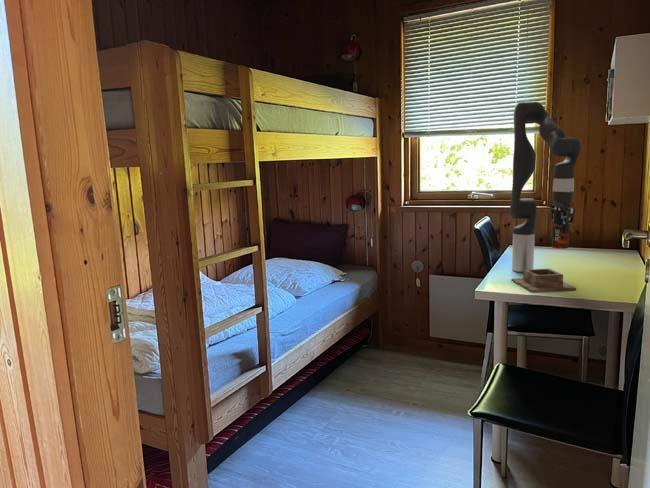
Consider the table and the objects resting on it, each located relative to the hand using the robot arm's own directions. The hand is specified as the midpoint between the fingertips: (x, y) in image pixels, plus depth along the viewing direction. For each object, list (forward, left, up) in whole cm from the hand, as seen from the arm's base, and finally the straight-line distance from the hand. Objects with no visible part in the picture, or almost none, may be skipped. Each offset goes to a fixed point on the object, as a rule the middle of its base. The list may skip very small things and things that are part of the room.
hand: (560, 232), depth 195 cm
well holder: (-2, -6, -22) cm, 23 cm away
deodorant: (0, 0, -6) cm, 6 cm away
